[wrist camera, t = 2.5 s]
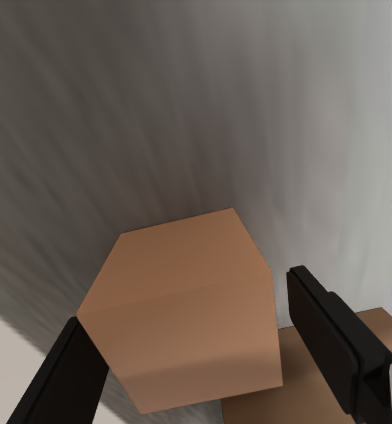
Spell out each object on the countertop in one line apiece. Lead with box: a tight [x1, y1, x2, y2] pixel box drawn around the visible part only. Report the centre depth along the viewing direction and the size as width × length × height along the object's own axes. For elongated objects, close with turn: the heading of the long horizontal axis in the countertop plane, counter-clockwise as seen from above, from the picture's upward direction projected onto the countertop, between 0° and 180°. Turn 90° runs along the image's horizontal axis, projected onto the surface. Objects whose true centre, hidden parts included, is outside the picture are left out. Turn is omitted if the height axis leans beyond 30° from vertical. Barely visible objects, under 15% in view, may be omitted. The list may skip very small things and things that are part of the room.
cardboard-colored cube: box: [76, 208, 283, 415], centre depth 10 cm, size 6×6×5 cm
